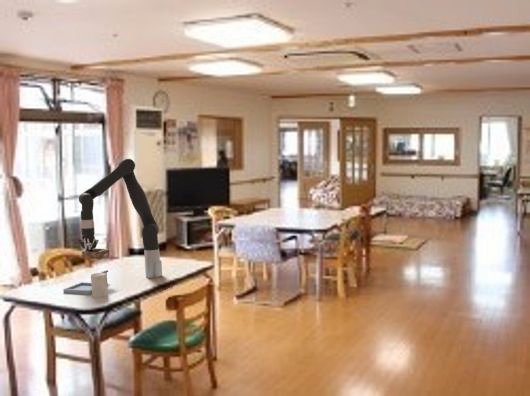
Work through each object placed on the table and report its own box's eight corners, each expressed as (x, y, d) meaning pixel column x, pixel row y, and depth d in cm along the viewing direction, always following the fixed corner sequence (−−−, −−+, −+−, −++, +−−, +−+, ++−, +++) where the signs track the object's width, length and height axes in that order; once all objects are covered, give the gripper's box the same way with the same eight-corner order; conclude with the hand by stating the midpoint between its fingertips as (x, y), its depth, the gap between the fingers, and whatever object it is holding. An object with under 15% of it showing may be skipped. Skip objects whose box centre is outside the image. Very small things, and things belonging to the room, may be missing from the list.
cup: (99, 298, 320) (97, 276, 319) (89, 296, 325) (87, 275, 324) (110, 294, 327) (109, 273, 326) (100, 293, 332) (98, 272, 330)
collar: (112, 255, 352) (111, 249, 352) (100, 259, 342) (100, 252, 342) (94, 254, 357) (94, 248, 357) (82, 258, 347) (82, 251, 346)
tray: (107, 287, 344) (107, 283, 344) (90, 294, 329) (90, 290, 329) (81, 285, 350) (81, 282, 350) (63, 292, 336) (63, 289, 335)
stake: (109, 282, 356) (108, 270, 355) (104, 284, 351) (103, 272, 350) (106, 282, 356) (105, 270, 356) (101, 284, 352) (100, 272, 351)
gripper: (101, 226, 351) (102, 254, 353) (82, 225, 356) (84, 253, 358) (93, 228, 344) (94, 257, 346) (74, 227, 349) (76, 256, 351)
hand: (89, 255), depth 352 cm, fingers closed on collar, 1 cm apart
